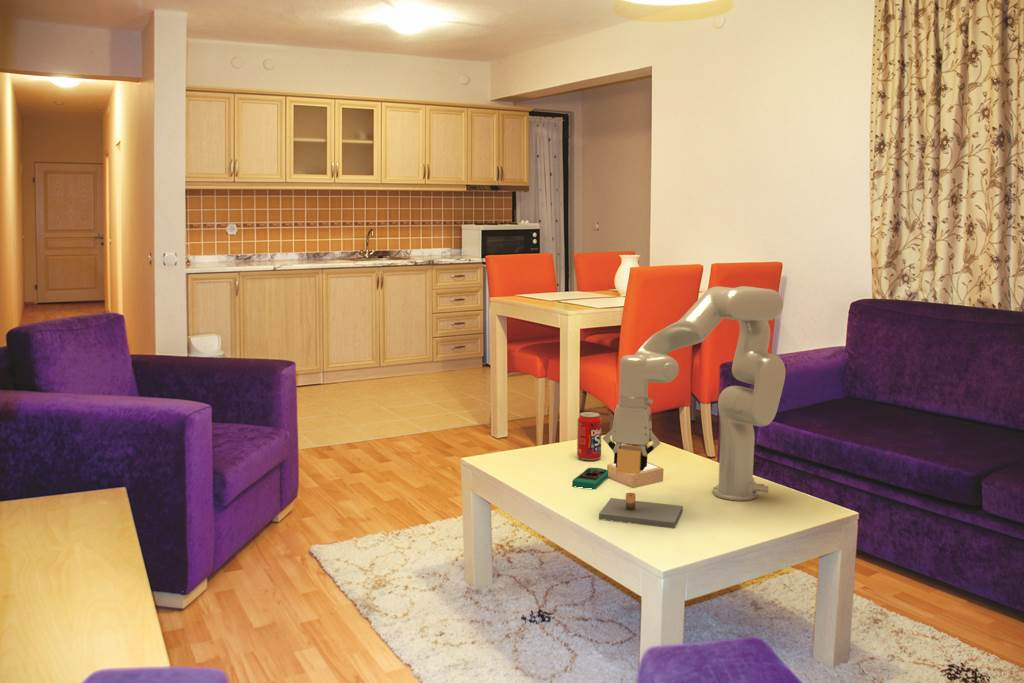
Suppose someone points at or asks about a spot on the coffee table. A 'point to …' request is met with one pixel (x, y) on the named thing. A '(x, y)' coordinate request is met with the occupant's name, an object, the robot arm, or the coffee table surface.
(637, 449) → the orange cube
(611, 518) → the grey oblong slab
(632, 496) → the pin
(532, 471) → the coffee table surface
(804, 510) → the coffee table surface
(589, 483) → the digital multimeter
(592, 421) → the soda can
